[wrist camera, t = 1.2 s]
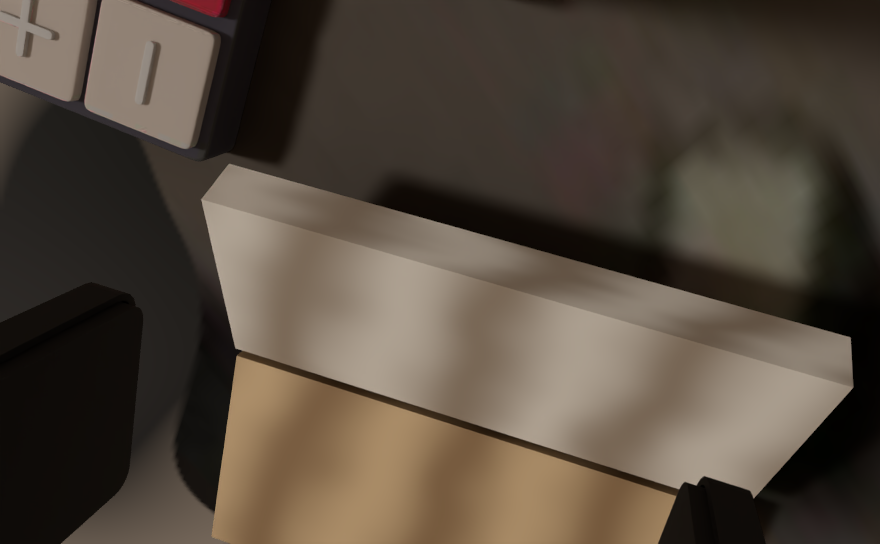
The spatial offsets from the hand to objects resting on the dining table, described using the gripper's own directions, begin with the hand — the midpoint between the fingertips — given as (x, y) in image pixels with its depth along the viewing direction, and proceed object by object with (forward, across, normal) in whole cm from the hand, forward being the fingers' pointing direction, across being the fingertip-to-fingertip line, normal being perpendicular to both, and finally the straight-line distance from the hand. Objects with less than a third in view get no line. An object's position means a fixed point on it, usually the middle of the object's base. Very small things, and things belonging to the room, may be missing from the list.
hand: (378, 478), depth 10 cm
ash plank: (+19, 0, +5) cm, 20 cm away
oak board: (+22, 0, +16) cm, 27 cm away
